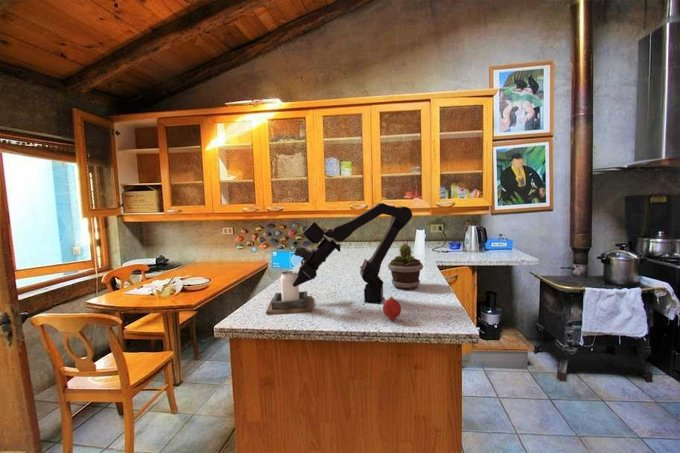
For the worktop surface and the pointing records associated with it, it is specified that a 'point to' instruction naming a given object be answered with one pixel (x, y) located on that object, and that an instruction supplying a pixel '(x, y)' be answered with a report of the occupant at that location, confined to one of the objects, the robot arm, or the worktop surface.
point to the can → (289, 286)
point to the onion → (391, 309)
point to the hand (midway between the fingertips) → (294, 282)
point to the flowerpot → (405, 269)
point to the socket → (290, 304)
